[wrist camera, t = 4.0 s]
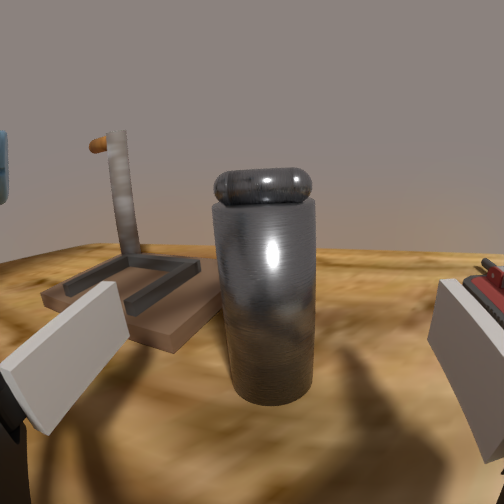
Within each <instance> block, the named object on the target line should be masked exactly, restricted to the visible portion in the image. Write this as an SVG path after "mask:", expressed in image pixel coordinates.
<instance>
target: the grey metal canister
mask: <svg viewBox="0 0 504 504" xmlns="http://www.w3.org/2000/svg"><path fill="white" fill-rule="evenodd" d="M311 191H312V181H311V178H310V177H309V175H308V174H307V173H306V172H305V171H304V170H302V169H299V168H271V169H252V170H236V171H227V172H224V173H222V174H221V175H219V177H217V179H216V181H215V183H214V194H215V196H216V198H217V199H218V201H219V202H218V203H216V204H214V205H213V206H212V216H213V226H214V235H215V245H216V254H217V263H218V272H219V281H220V290H221V298H222V306H223V314H224V322H225V330H226V338H227V345H228V353H229V360H230V367H231V374H232V381H233V386H234V389H235V391H236V392H237V393H238V395H239V396H241V397H242V398H243V399H245V400H247V401H248V402H251V403H254V404H257V405H262V406H279V405H284V404H288V403H291V402H293V401H296V400H297V399H299V398H301V397H302V396H303V395H304V394H305V393H306V392H307V391H308V390H309V389H310V387H311V384H312V378H313V359H314V336H315V300H316V221H315V200H314V199H312V198H309V195H310V193H311Z"/></svg>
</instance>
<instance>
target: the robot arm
mask: <svg viewBox="0 0 504 504" xmlns="http://www.w3.org/2000/svg"><path fill="white" fill-rule="evenodd" d="M8 175H9V172H8V139H7V133H6V132H5V131H0V205H2V204H4V203H5V202H6V200H7V198H8V194H9V176H8ZM129 337H130V334H129V331H128V327H127V324H126V320H125V316H124V313H123V309H122V305H121V301H120V297H119V293H118V289H117V285H116V282H112V281H102V282H100V283H99V284H98V285H96V286H95V287H94V288H92V289H91V290H90V291H88V292H87V293H86V294H85V295H83V296H82V297H81V298H79V299H78V300H77V301H75V302H74V303H73V304H72V305H70V306H69V307H68V308H66V309H65V310H64V311H63V312H61V313H60V314H59V315H58V316H56V317H55V318H54V319H53V320H51V321H50V322H49V323H48V324H46V325H45V326H44V327H43V328H41V329H40V330H39V331H38V332H37V333H35V334H34V335H33V336H32V337H31V338H29V339H28V340H27V341H26V342H25V343H23V344H22V345H21V346H20V347H19V348H18V349H16V350H15V351H14V352H13V353H12V354H11V355H9V356H8V357H7V358H6V359H5V360H4V361H2V362H1V363H0V504H31V498H30V489H29V479H28V464H27V430H26V426H25V424H24V423H23V420H24V419H25V418H26V417H27V418H28V420H29V421H30V423H31V424H32V426H33V427H34V429H36V430H38V431H40V432H42V433H44V434H46V435H48V436H49V435H50V434H51V432H52V431H53V430H54V428H55V427H56V426H57V425H58V423H59V422H60V421H61V419H62V418H63V417H64V416H65V414H66V413H67V412H68V411H69V409H70V408H71V407H72V406H73V404H74V403H75V402H76V401H77V399H78V398H79V397H80V396H81V394H82V393H83V392H84V391H85V390H86V388H87V387H88V386H89V385H90V383H91V382H92V381H93V380H94V378H95V377H96V376H97V375H98V374H99V372H100V371H101V370H102V369H103V368H104V366H105V365H106V364H107V363H108V362H109V360H110V359H111V358H112V357H113V356H114V354H115V353H116V352H117V351H118V350H119V348H120V347H121V346H122V345H123V344H124V343H125V341H126V340H127V339H128V338H129ZM427 340H428V342H429V344H430V346H431V348H432V350H433V351H434V353H435V355H436V357H437V359H438V361H439V363H440V365H441V367H442V369H443V371H444V373H445V374H446V376H447V378H448V380H449V383H450V385H451V387H452V389H453V391H454V393H455V395H456V397H457V399H458V401H459V403H460V406H461V408H462V410H463V412H464V414H465V417H466V419H467V421H468V424H469V426H470V428H471V431H472V433H473V435H474V438H475V440H476V443H477V445H478V448H479V450H480V453H481V455H482V458H483V461H484V463H485V464H487V463H489V462H492V461H495V460H498V459H500V458H503V457H504V330H503V329H502V327H501V326H500V325H499V324H498V323H497V322H496V321H495V320H494V318H493V317H492V316H491V315H490V314H489V313H488V312H487V311H486V310H485V309H484V308H483V307H482V305H481V304H480V303H479V302H478V301H477V300H476V299H475V298H474V297H473V296H472V295H471V294H470V293H469V292H468V291H467V290H466V289H465V288H464V287H463V286H462V285H461V284H460V283H459V282H458V281H457V280H456V279H440V280H439V284H438V290H437V296H436V301H435V306H434V311H433V316H432V321H431V325H430V330H429V334H428V338H427ZM501 474H502V475H504V469H503V471H502V472H501ZM496 504H504V485H503V488H502V490H501V493H500V496H499V498H498V500H497V503H496Z"/></svg>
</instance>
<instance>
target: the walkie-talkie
mask: <svg viewBox="0 0 504 504" xmlns="http://www.w3.org/2000/svg"><path fill="white" fill-rule="evenodd" d="M481 264H482V266H483V267H484V268H486V269H487V270H488V273H487V275H474V276H469V277H467V278H465V279H464V280H463V285H462V286H463V287H464V288H465V289H466V290H467V291H468V292H469V293H470V294H471V295H472V296H473V297H474V298H475V299H476V300H477V301H478V302H479V303H480V304H481V305H482V307H483V308H484V309H485V310H486V311H487V312H488V313H489V314H490V315H491V316H492V317H493V318H494V320H495V321H496V322H497V323H498V324H499V325H500V326H501V327H502V329H503V330H504V266H496V265H495V264H494V263H492V262H491V261H490V260H488V259H487V258H484V259H483V260H482V261H481Z"/></svg>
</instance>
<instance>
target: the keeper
mask: <svg viewBox="0 0 504 504" xmlns="http://www.w3.org/2000/svg"><path fill="white" fill-rule="evenodd" d="M89 150H90V151H91V152H92V153H100V152H104V151H107V153H108V164H109V172H110V182H111V190H112V198H113V205H114V212H115V219H116V225H117V231H118V237H119V242H120V248H121V253H122V254H120V255H117V256H115V257H113V258H111V259H109V260H107V261H105V262H102V263H100V264H98V265H96V266H94V267H92V268H90V269H88V270H86V271H84V272H82V273H79V274H77V275H75V276H73V277H71V278H69V279H67V280H65V281H63V282H61V283H59V284H57V285H55V286H53V287H51V288H49V289H47V290H45V291H43V292H41V293H40V294H41V297H42V300H43V303H44V306H45V307H48V308H50V309H52V310H54V311H57V312H59V313H61V312H63V311H64V310H65V309H66V308H68V307H69V306H70V305H72V304H73V303H74V302H75V301H77V300H78V299H79V298H81V297H82V296H83V295H85V294H86V293H87V292H88V291H90V290H91V289H92V288H94V287H95V286H96V285H98V284H99V283H100V282H102V281H112V282H116V285H117V289H118V293H119V297H120V301H121V305H122V309H123V313H124V316H125V320H126V324H127V327H128V331H129V334H130V337H129V338H128V339H130V340H132V341H135V342H138V343H141V344H145V345H148V346H151V347H154V348H157V349H160V350H163V351H167V352H170V353H173V354H174V353H175V352H176V351H177V350H178V349H179V348H180V347H181V346H182V345H184V344H185V343H186V342H187V341H188V340H189V339H190V338H191V337H192V336H193V335H194V334H195V333H196V332H197V331H198V330H199V329H200V328H201V327H203V326H204V325H205V324H206V323H207V322H208V321H209V320H210V319H211V318H212V317H213V316H214V315H215V314H216V313H217V312H218V311H219V310H220V309H221V308H222V307H223V306H222V298H221V290H220V281H219V272H218V263H217V259H208V258H197V257H186V256H174V255H163V254H152V253H141V249H140V243H139V237H138V231H137V224H136V218H135V211H134V203H133V195H132V188H131V179H130V169H129V159H128V148H127V136H126V131H125V130H121V131H114V132H109V133H106V136H104V137H101V138H98V139H94V140H92V141H91V142H90V144H89Z"/></svg>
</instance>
